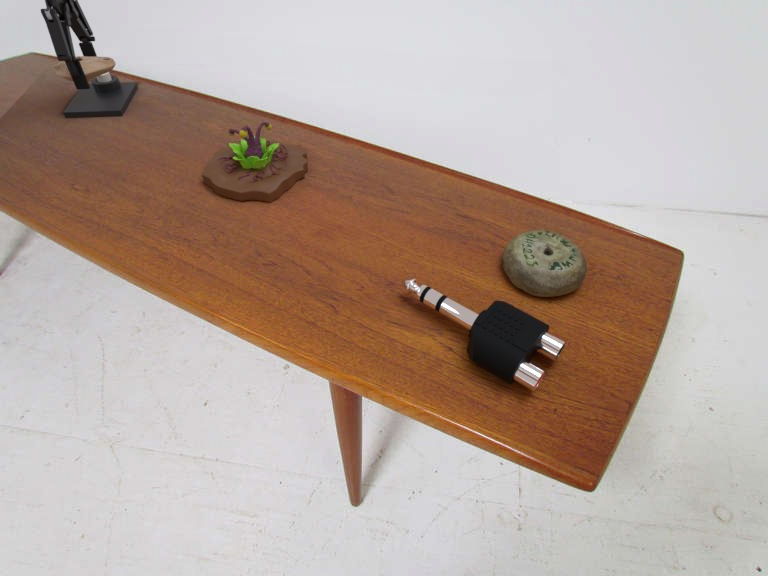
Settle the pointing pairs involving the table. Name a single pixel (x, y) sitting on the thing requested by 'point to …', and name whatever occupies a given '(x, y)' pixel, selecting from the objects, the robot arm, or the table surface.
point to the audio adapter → (497, 335)
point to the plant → (255, 167)
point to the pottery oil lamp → (87, 67)
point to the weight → (544, 263)
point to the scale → (101, 99)
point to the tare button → (104, 78)
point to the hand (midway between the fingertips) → (90, 79)
